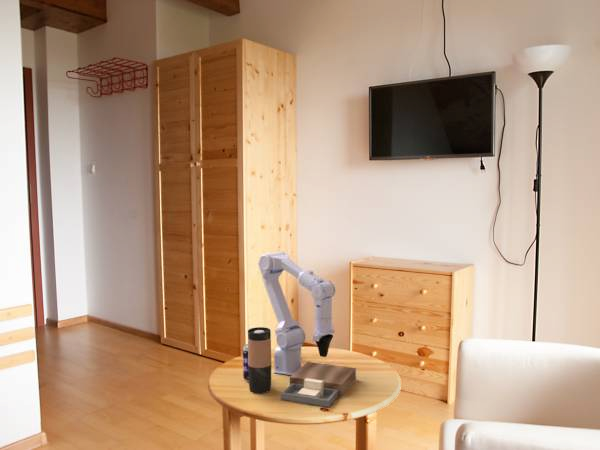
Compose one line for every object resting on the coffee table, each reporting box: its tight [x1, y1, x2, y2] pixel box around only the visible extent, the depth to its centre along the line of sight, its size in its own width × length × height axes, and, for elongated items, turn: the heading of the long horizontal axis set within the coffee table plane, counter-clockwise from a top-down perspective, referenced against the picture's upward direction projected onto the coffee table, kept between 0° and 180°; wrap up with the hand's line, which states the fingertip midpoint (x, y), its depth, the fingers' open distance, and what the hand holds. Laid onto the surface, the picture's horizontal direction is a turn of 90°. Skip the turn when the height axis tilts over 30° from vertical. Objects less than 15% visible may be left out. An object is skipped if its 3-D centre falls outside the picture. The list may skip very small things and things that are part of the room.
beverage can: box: [242, 343, 249, 382], centre depth 178 cm, size 6×6×12 cm
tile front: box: [297, 388, 320, 398], centre depth 161 cm, size 6×4×2 cm
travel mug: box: [247, 326, 272, 395], centre depth 169 cm, size 8×8×20 cm
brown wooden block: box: [289, 361, 357, 398], centre depth 173 cm, size 18×16×4 cm
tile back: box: [304, 378, 324, 397], centre depth 164 cm, size 6×4×2 cm
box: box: [280, 383, 339, 409], centre depth 162 cm, size 16×9×2 cm, turn 67°
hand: (323, 356), depth 175 cm, fingers closed
